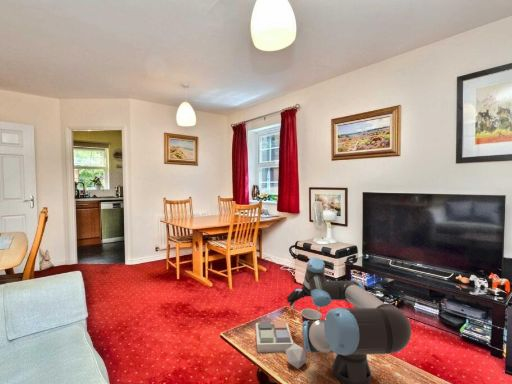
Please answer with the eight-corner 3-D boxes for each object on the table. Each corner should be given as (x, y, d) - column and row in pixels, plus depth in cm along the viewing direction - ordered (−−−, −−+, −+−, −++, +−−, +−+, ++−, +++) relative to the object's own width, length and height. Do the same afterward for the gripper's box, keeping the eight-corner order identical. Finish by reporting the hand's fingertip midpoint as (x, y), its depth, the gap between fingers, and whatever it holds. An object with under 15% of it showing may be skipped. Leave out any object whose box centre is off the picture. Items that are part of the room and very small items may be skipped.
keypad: (293, 352, 133) (293, 343, 133) (257, 352, 132) (257, 344, 132) (287, 329, 153) (287, 322, 153) (255, 330, 152) (255, 323, 152)
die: (310, 368, 123) (306, 342, 129) (303, 368, 116) (299, 340, 122) (292, 370, 126) (289, 344, 132) (284, 370, 119) (281, 343, 125)
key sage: (273, 342, 135) (273, 337, 135) (260, 343, 134) (260, 337, 134) (272, 335, 142) (272, 329, 142) (260, 335, 141) (260, 330, 141)
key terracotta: (286, 332, 144) (286, 327, 144) (274, 332, 144) (274, 327, 144) (284, 325, 151) (284, 320, 151) (273, 325, 151) (273, 320, 151)
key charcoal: (271, 332, 144) (271, 327, 144) (259, 333, 143) (259, 328, 143) (270, 325, 151) (270, 321, 151) (259, 325, 150) (259, 321, 150)
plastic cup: (319, 343, 141) (319, 319, 140) (298, 338, 145) (298, 315, 144) (323, 332, 150) (323, 310, 150) (303, 328, 155) (303, 306, 154)
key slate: (289, 342, 135) (289, 337, 135) (276, 342, 135) (276, 337, 135) (287, 334, 142) (287, 329, 142) (275, 334, 142) (275, 329, 142)
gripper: (335, 276, 136) (327, 300, 149) (284, 276, 135) (280, 301, 148) (339, 290, 130) (330, 314, 143) (285, 290, 129) (281, 315, 142)
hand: (305, 307), depth 146 cm, fingers open, 13 cm apart
